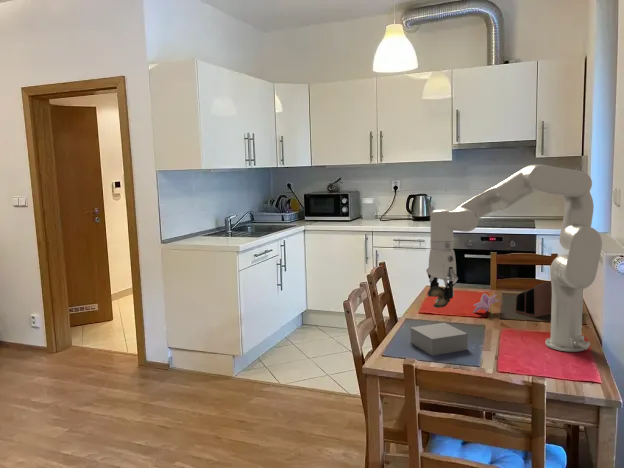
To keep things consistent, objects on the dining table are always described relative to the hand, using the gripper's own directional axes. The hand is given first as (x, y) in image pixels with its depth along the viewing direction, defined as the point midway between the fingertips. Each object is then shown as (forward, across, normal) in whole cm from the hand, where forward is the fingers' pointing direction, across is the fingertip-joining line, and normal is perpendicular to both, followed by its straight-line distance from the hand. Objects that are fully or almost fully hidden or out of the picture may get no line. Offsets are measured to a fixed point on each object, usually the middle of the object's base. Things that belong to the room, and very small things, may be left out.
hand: (441, 295), depth 179 cm
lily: (+18, +23, -41) cm, 50 cm away
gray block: (+18, 0, +1) cm, 18 cm away
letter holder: (+18, +16, -63) cm, 67 cm away
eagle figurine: (+3, -1, +1) cm, 3 cm away
